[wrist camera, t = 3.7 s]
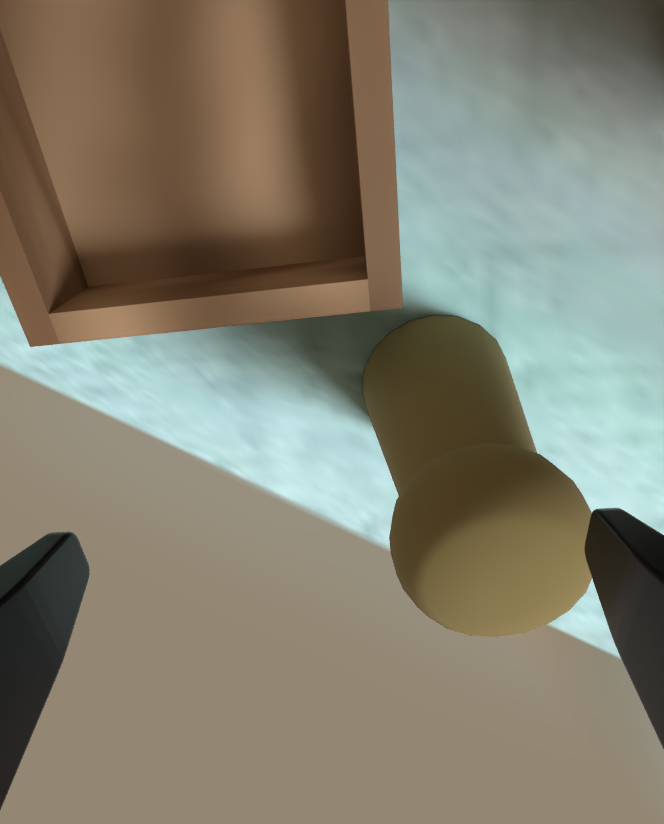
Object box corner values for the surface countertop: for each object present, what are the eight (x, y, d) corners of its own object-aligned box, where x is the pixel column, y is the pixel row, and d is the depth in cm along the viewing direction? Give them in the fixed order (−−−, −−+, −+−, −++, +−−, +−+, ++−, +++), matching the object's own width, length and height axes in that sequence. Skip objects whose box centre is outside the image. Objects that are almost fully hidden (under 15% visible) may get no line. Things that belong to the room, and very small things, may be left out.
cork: (539, 361, 21) (700, 561, 12) (449, 466, 24) (521, 699, 14) (416, 286, 20) (487, 443, 10) (334, 406, 23) (330, 621, 13)
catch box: (365, -178, 14) (374, -277, 10) (391, 273, 20) (402, 307, 16) (-64, -107, 15) (-189, -176, 11) (82, 307, 21) (29, 346, 17)
